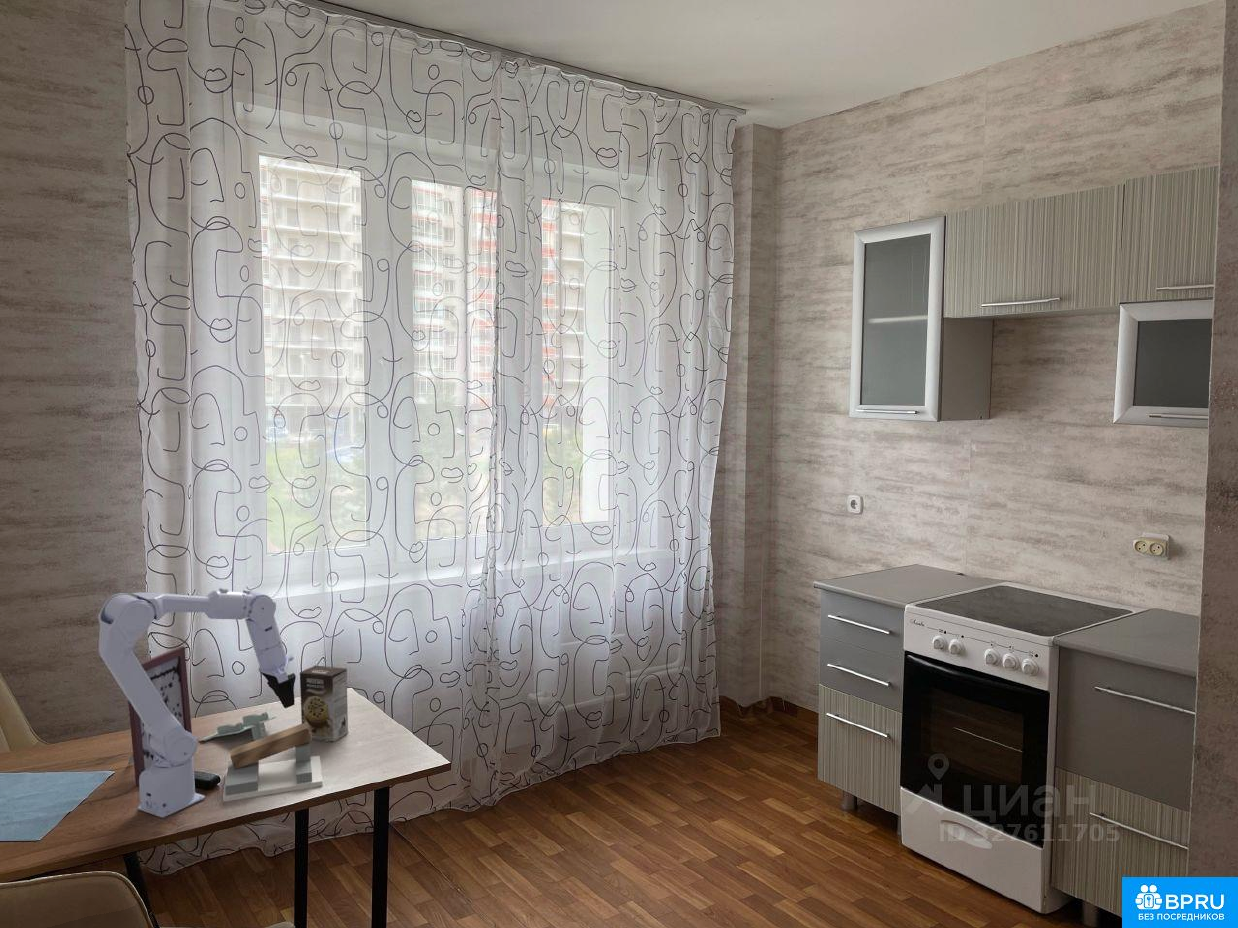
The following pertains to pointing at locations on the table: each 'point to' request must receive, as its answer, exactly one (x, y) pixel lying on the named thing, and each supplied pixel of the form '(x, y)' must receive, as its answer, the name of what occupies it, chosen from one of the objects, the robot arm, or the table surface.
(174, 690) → the picture frame
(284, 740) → the walnut bar
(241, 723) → the metal bracket
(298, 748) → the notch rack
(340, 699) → the coffee box
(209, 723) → the table surface
